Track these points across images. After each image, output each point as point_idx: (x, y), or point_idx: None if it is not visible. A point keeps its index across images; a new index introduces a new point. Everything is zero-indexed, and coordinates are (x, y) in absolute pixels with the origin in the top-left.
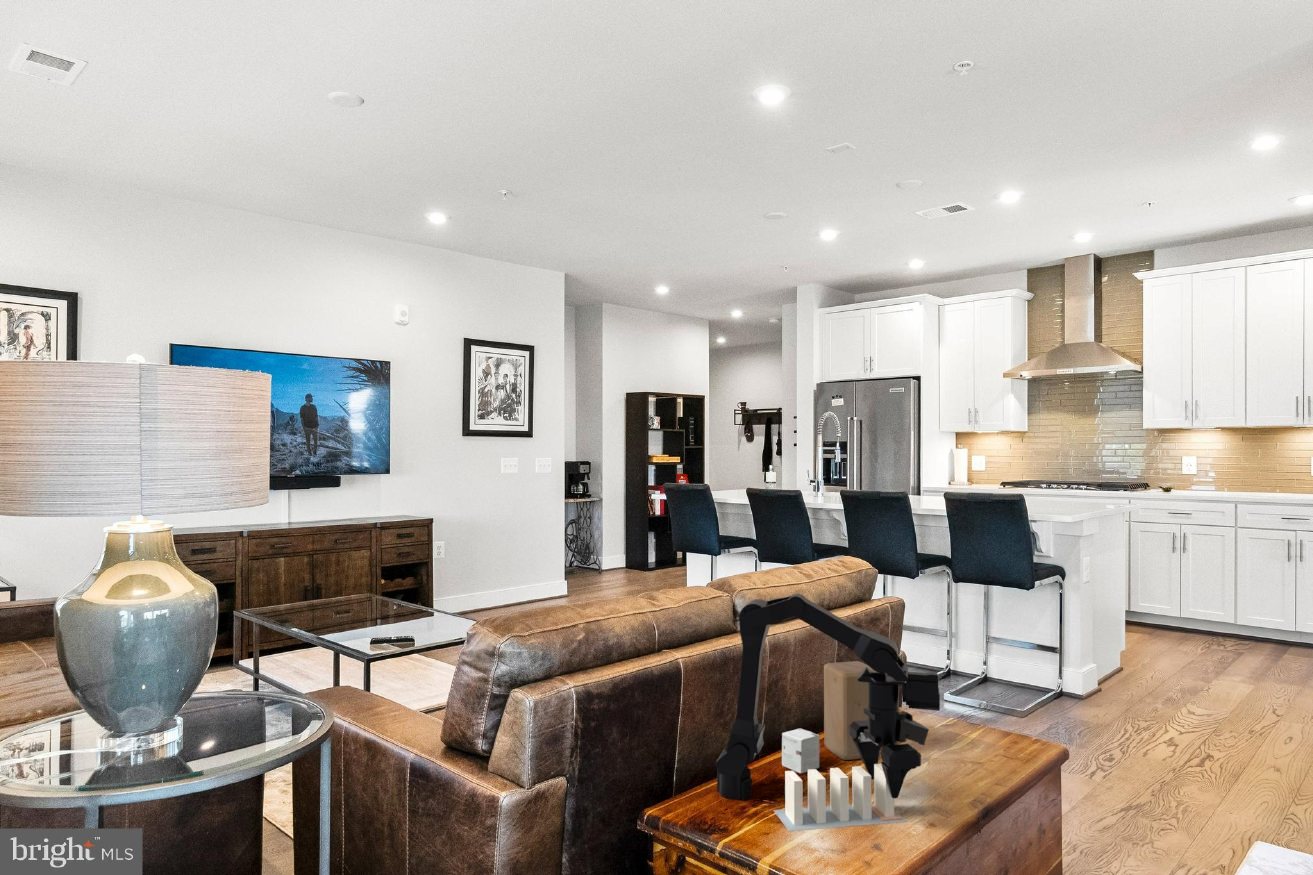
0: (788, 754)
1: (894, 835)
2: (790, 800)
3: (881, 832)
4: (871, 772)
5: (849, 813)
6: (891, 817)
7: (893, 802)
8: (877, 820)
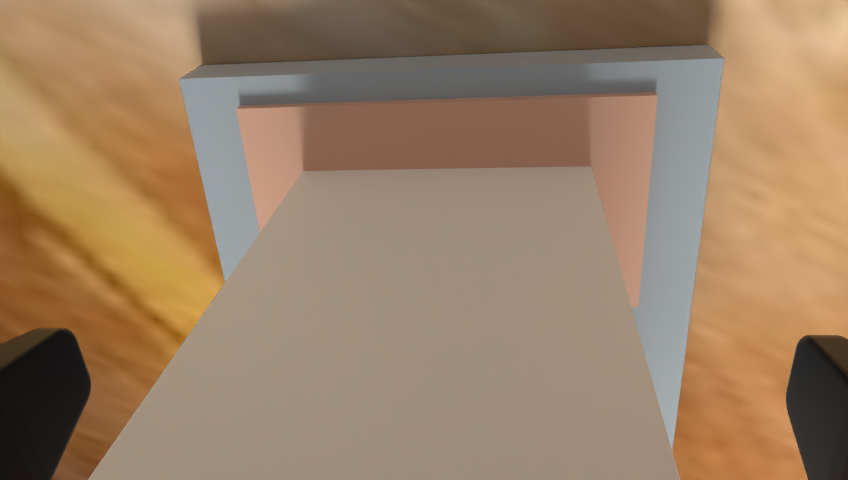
0: None
1: (835, 250)
2: None
3: (737, 327)
4: (34, 455)
5: None
6: (612, 205)
7: (609, 241)
8: None
